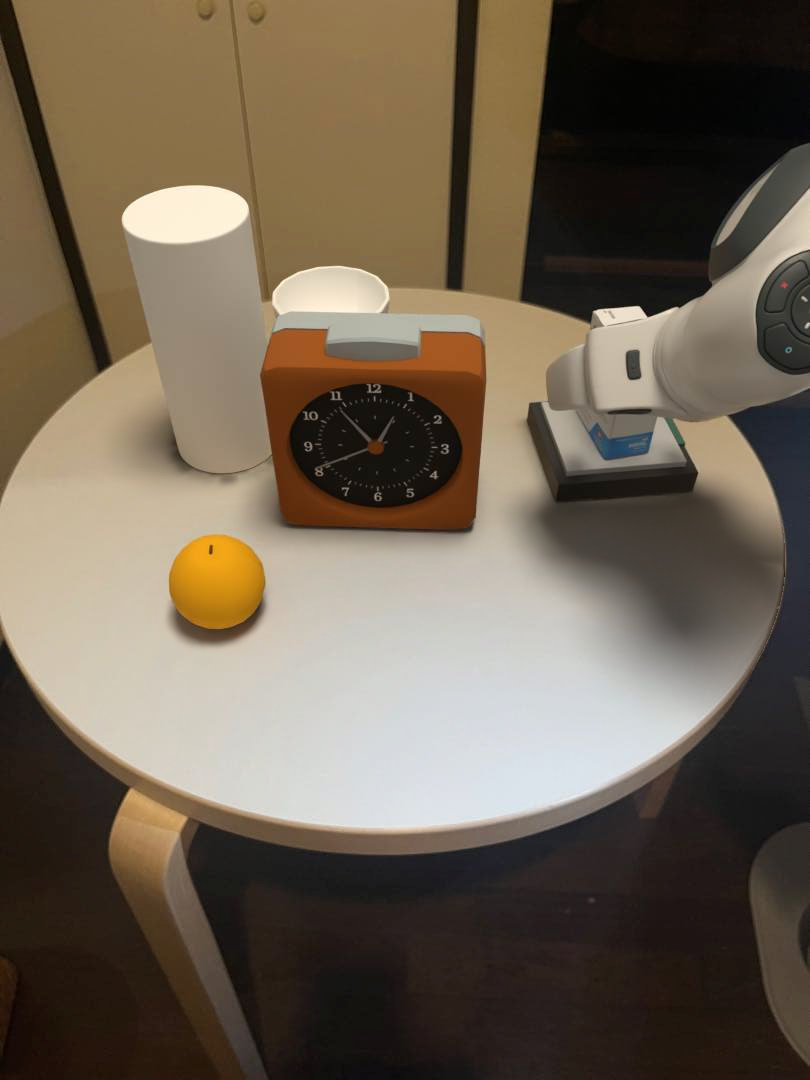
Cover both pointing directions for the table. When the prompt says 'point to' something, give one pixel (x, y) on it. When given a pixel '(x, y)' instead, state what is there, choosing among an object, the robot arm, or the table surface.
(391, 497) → the alarm clock
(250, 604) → the orange fruit with stem
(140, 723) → the table surface
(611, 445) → the ink box
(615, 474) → the scale
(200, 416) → the tall pillar cylinder
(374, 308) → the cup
